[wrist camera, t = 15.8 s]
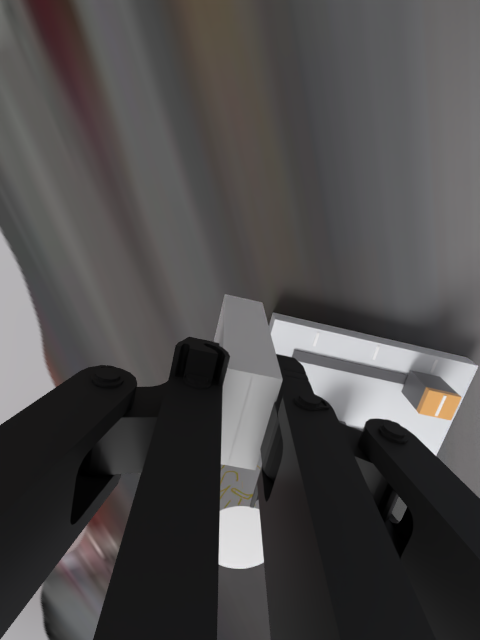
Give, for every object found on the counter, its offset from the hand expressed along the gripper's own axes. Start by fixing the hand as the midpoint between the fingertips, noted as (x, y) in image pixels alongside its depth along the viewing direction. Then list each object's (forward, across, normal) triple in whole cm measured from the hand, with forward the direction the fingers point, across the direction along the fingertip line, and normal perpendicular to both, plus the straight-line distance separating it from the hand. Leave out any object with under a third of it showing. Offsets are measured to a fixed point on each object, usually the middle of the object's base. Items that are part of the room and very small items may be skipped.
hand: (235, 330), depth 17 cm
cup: (+30, +7, -28) cm, 41 cm away
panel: (+29, +18, -15) cm, 38 cm away
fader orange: (+26, +25, -11) cm, 38 cm away
